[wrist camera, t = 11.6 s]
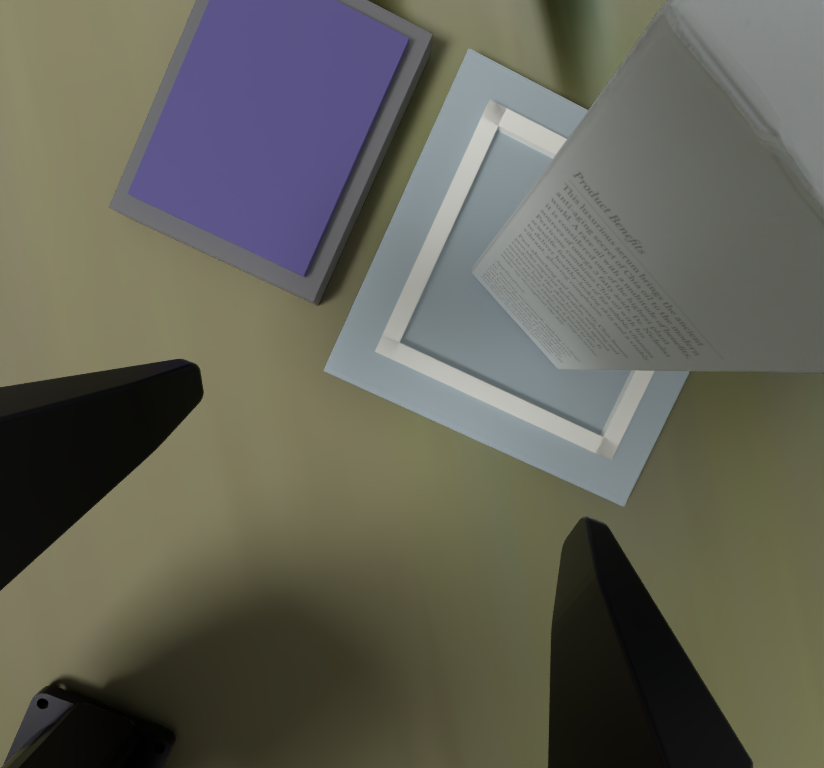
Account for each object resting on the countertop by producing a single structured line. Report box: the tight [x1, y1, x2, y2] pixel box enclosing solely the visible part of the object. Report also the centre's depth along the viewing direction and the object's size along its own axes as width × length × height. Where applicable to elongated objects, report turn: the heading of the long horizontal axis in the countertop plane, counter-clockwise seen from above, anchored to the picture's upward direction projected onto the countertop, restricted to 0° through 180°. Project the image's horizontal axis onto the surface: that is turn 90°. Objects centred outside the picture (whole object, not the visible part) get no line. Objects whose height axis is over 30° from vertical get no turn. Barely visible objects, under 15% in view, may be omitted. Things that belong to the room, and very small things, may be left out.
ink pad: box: [109, 0, 433, 306], centre depth 15 cm, size 12×9×1 cm
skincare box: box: [471, 0, 824, 373], centre depth 10 cm, size 6×4×12 cm
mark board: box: [324, 48, 690, 507], centre depth 16 cm, size 15×15×1 cm
